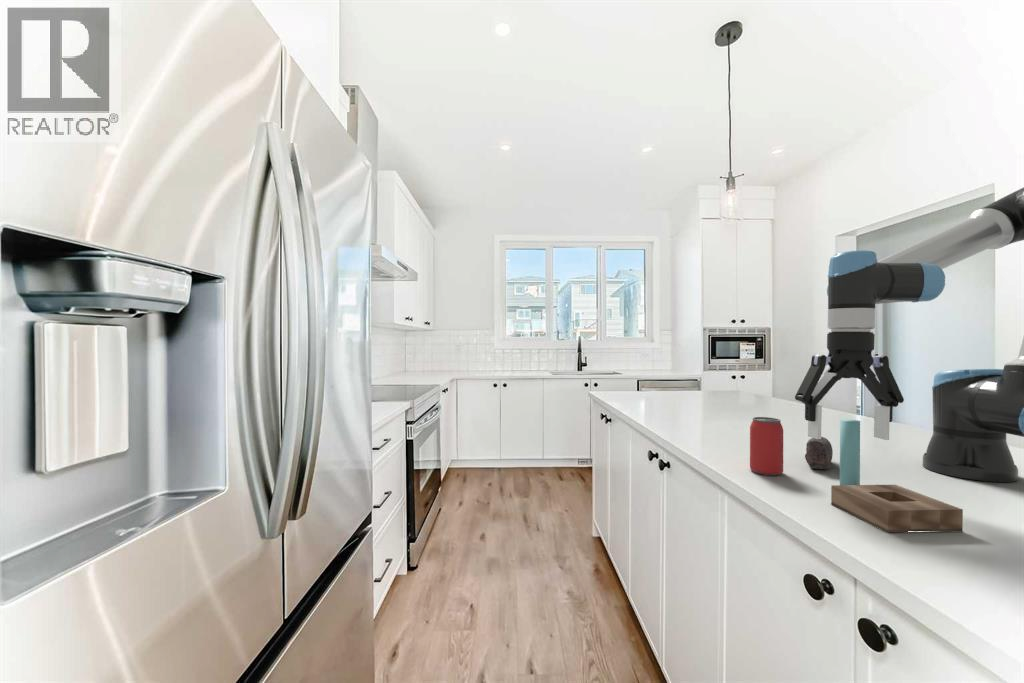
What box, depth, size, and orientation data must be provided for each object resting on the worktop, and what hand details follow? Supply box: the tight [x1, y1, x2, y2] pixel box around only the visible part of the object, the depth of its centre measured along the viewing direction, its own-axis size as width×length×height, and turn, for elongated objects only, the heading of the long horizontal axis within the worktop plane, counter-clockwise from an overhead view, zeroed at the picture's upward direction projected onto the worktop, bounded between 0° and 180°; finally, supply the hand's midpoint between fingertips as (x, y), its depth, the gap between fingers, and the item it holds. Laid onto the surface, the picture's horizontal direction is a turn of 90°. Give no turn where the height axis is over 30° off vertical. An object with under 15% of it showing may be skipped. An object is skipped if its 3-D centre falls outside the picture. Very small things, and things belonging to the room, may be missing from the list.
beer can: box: [749, 416, 784, 477], centre depth 103 cm, size 7×7×12 cm
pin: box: [839, 418, 861, 485], centre depth 90 cm, size 3×3×14 cm
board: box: [830, 484, 964, 533], centre depth 77 cm, size 12×12×4 cm
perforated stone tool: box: [804, 436, 834, 470], centre depth 108 cm, size 15×5×7 cm, turn 141°
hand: (847, 438), depth 90 cm, fingers open, 13 cm apart
